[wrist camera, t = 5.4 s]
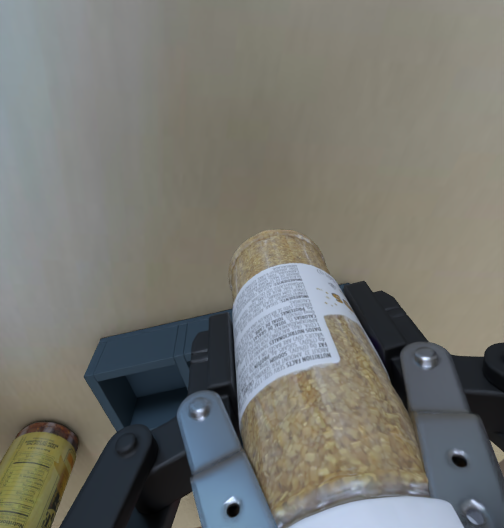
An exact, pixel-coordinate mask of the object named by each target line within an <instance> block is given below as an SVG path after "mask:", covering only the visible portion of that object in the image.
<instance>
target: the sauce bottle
mask: <svg viewBox="0 0 504 528" xmlns="http://www.w3.org/2000/svg"><path fill="white" fill-rule="evenodd" d="M77 449H78V440H77V436H76V435H75V433H73V432H71V431H70V430H69V429H68V428H67V427H65V426H62V425H60V424H57V423H53V422H36V423H33V424H31V425H29V426H27V427H25V428H24V429H23V430H21V431H20V432H19V433H18V434H17V436H16V438H15V440H14V441H13V442H12V444H11V446H9V448H8V450H7V452H6V453H5V455H4V457H3V459H2V460H1V462H0V528H51V526H52V523H53V520H54V517H55V515H56V512H57V509H58V506H59V504H60V501H61V498H62V496H63V493H64V490H65V487H66V485H67V482H68V479H69V477H70V474H71V471H72V468H73V465H74V463H75V460H76V453H77Z"/></svg>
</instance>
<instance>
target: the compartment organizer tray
mask: <svg viewBox="0 0 504 528" xmlns="http://www.w3.org/2000/svg"><path fill="white" fill-rule="evenodd" d="M348 284H349V283H346V284H341V285H339V287H340V288H341V290H342V292H343V293H344V285H348ZM232 311H233V309H231V310H226V311H222V312H217V313H213V314H208V315H204V316H200V317H195V318H191V319H186V320H182V321H177V322H173V323H169V324H164V325H160V326H155V327H151V328H146V329H142V330H138V331H133V332H129V333H124V334H120V335H115V336H111V337H107V338H102V339H100V341H99V344H98V346H97V348H96V350H95V353H94V355H93V357H92V359H91V362H90V364H89V366H88V368H87V370H86V373H85V375H84V378H85V380H86V382H87V383H88V385H89V387H90V388H91V390H92V392H93V393H94V395H95V397H96V398H97V400H98V401H99V403H100V405H101V406H102V408H103V410H104V411H105V413H106V415H107V416H108V418H109V420H110V421H111V423H112V425H113V426H114V428H115V429H116V431H117V432H118V431H119V430H121V429H123V428H125V427H127V426H129V425H133V424H143V425H145V426H147V427H148V428H149V429H150V431H151V430H153V429H155V428H157V427H159V426H161V425H162V424H164V423H166V422H168V421H170V420H171V419H173V418H174V417H175V416H176V415H177V411H178V408H179V406H180V405H181V403H182V402H183V401H184V400H185V399H186V398H187V395H188V383H189V371H190V364H191V363H190V359H191V348H192V342H193V340H194V339H195V337H196V335H197V334H198V332H203V331H207V330H209V316H212V315H217V314H221V313H225V312H229V315H230V318H231V321H232V324H233V318H232ZM240 441H241V446H242V448H243V442H242V438H241V435H240Z"/></svg>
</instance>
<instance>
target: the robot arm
mask: <svg viewBox="0 0 504 528" xmlns="http://www.w3.org/2000/svg"><path fill="white" fill-rule="evenodd" d="M344 295H345V297H346V299H347V301H348V302H349V304H350V306H351V308H352V309H353V311H354V313H355V315H356V316H357V318H358V320H359V322H360V323H361V325H362V327H363V329H364V330H365V332H366V334H367V336H368V337H369V339H370V341H371V343H372V344H373V346H374V348H375V350H376V351H377V353H378V355H379V357H380V359H381V361H382V363H383V365H384V367H385V369H386V371H387V373H388V375H389V378H390V381H391V384H392V386H393V388H394V389H395V391H396V392H397V394H398V395H399V397H400V398H401V400H402V402H403V404H404V407H405V408H406V410H407V411H408V413H409V416H410V419H411V422H412V425H413V429H414V432H415V437H416V441H417V444H418V448H419V452H420V457H421V461H422V465H423V469H424V473H425V474H426V477H427V479H428V491H429V495H430V497H431V498H437V499H441V500H444V501H447V502H449V503H450V504H451V505H452V507H453V508H454V510H455V512H456V514H457V516H458V517H459V519H460V521H461V523H462V525H463V527H464V528H504V477H503V475H502V472H501V469H500V466H499V464H498V461H497V458H496V456H495V453H494V450H493V448H492V445H491V442H490V440H491V441H492V442H493V443H494V444H495V445H496V446H498V447H499V448H500V449H501V450H502V451H503V452H504V343H497V344H494V345H491V346H490V347H488V348H487V349H486V351H485V353H484V357H470V356H455V355H450V353H449V352H448V351H447V350H446V349H445V348H443V347H441V346H439V345H437V344H435V343H431V342H428V340H427V339H426V338H425V337H424V335H423V334H422V333H421V332H420V330H419V329H418V328H417V326H416V325H415V324H414V323H413V321H412V320H411V319H410V318H409V316H408V315H406V312H405V311H404V310H403V309H402V308H401V306H400V305H399V304H398V302H397V301H396V300H395V298H394V297H392V296H391V295H389V294H387V293H385V292H383V291H378V292H372V291H371V289H370V288H369V286H368V285H367V284H366V282H365V281H361V282H357V283H352V284H348V285H344ZM190 363H191V364H190V371H189V383H188V395H187V398H186V399H185V400H184V401H183V402H182V403H181V405H180V406H179V408H178V411H177V415H176V416H175V417H174V418H173V419H171V420H170V421H168V422H166V423H164V424H162V425H161V426H159V427H157V428H155V429H153V430H151V431H150V429H149V428H148V427H147V426H145V425H143V424H133V425H129V426H127V427H125V428H123V429H121V430H119V431H118V432H117V433H116V434H115V435H114V436H113V437H112V438H111V439H110V440H109V442H108V443H107V445H106V446H105V448H104V450H103V452H102V453H101V455H100V457H99V459H98V460H97V462H96V464H95V466H94V467H93V469H92V471H91V473H90V474H89V476H88V478H87V480H86V482H85V483H84V485H83V487H82V489H81V490H80V492H79V494H78V496H77V497H76V499H75V501H74V503H73V504H72V506H71V508H70V510H69V511H68V513H67V515H66V517H65V518H64V520H63V522H62V524H61V525H60V527H59V528H171V527H172V524H173V521H174V518H175V515H176V512H177V509H178V506H179V503H180V500H181V498H182V497H184V496H185V495H187V494H189V493H190V492H192V491H193V494H194V498H195V502H196V506H197V510H198V514H199V518H200V522H201V526H202V528H278V527H277V524H276V522H275V520H274V517H273V515H272V513H271V510H270V508H269V506H268V504H267V501H266V499H265V497H264V494H263V492H262V490H261V487H260V485H259V483H258V481H257V478H256V476H255V474H254V471H253V469H252V467H251V464H250V462H249V460H248V458H247V455H246V453H245V451H244V449H243V448H242V446H241V441H240V430H239V416H238V401H237V385H236V369H235V353H234V337H233V324H232V321H231V318H230V315H229V312H225V313H221V314H217V315H212V316H209V330H207V331H203V332H198V334H197V335H196V337H195V339H194V340H193V342H192V348H191V359H190ZM489 439H490V440H489ZM467 516H470V517H471V518H473V519H474V520H475V521H476V523H477V524H478V525H476V524H474V523H472V522H471V521H470V520H469V519H468V518H467Z"/></svg>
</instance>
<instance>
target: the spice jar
mask: <svg viewBox="0 0 504 528" xmlns="http://www.w3.org/2000/svg"><path fill="white" fill-rule="evenodd" d="M228 278H229V284H230V287H231V290H232V293H233V311H232V318H233V337H234V353H235V369H236V385H237V401H238V416H239V430H240V435H241V438H242V442H243V449H244V451H245V453H246V455H247V458H248V460H249V462H250V464H251V467H252V469H253V471H254V474H255V476H256V478H257V481H258V483H259V485H260V487H261V490H262V492H263V494H264V497H265V499H266V501H267V504H268V506H269V508H270V510H271V513H272V515H273V517H274V520H275V522H276V524H277V527H278V528H464V527H463V525H462V523H461V521H460V519H459V517H458V516H457V514H456V512H455V510H454V508H453V507H452V505H451V504H450V503H449V502H447V501H444V500H441V499H437V498H431V497H430V495H429V491H428V479H427V477H426V474H425V473H424V469H423V465H422V461H421V457H420V452H419V448H418V444H417V441H416V437H415V432H414V429H413V425H412V422H411V419H410V416H409V413H408V411H407V410H406V408H405V407H404V404H403V402H402V400H401V398H400V397H399V395H398V394H397V392H396V391H395V389H394V388H393V386H392V384H391V381H390V378H389V375H388V373H387V371H386V369H385V367H384V365H383V363H382V361H381V359H380V357H379V355H378V353H377V351H376V350H375V348H374V346H373V344H372V343H371V341H370V339H369V337H368V336H367V334H366V332H365V330H364V329H363V327H362V325H361V323H360V322H359V320H358V318H357V316H356V315H355V313H354V311H353V309H352V308H351V306H350V304H349V302H348V301H347V299H346V297H345V295H344V293H343V292H342V290H341V288H340V287H339V285H338V283H337V282H336V281H335V280H334V278H332V276H331V275H330V273H329V271H328V269H327V267H326V265H325V260H324V258H323V255H322V253H321V251H320V250H319V248H318V247H317V245H316V244H315V243H314V242H313V241H312V240H311V239H309V238H308V237H307V236H305V235H303V234H301V233H298V232H296V231H293V230H284V229H273V230H266V231H262V232H260V233H258V234H257V235H255V236H253V237H251V238H249V239H248V240H246V241H245V242H244V243H243V244H241V246H240V247H239V248H238V249H237V251H236V252H235V253H234V254H233V258H232V260H231V263H230V266H229V273H228ZM467 518H468V519H469V520H470V521H471V522H472V523H474V524H476V525H478V524H477V523H476V521H475V520H474V519H473V518H471V517H470V516H467Z"/></svg>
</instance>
